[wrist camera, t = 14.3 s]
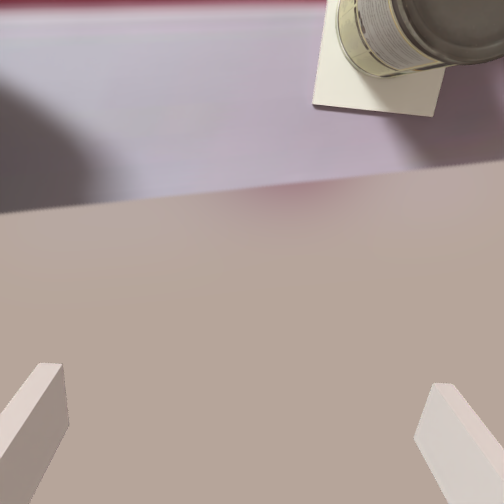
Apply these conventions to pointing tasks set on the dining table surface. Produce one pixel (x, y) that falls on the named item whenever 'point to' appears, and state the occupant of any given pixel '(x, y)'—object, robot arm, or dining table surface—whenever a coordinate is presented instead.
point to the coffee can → (418, 34)
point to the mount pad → (369, 81)
